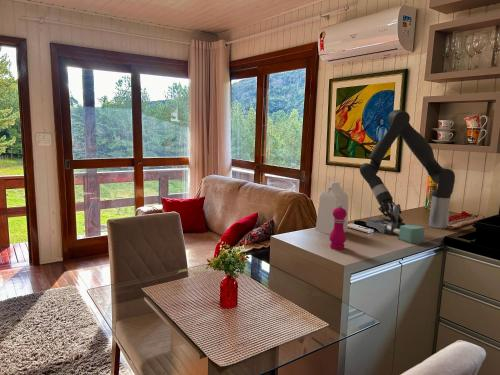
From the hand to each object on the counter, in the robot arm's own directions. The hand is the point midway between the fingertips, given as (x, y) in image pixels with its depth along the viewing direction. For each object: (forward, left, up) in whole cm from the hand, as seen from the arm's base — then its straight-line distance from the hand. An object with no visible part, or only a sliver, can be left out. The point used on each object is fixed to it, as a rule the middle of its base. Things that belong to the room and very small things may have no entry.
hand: (398, 222), depth 186 cm
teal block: (0, +8, -7) cm, 11 cm away
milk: (+27, -19, -7) cm, 34 cm away
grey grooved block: (0, -11, -7) cm, 13 cm away
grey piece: (0, 0, -6) cm, 6 cm away
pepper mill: (+42, +4, -7) cm, 43 cm away
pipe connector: (-11, -12, -7) cm, 18 cm away
